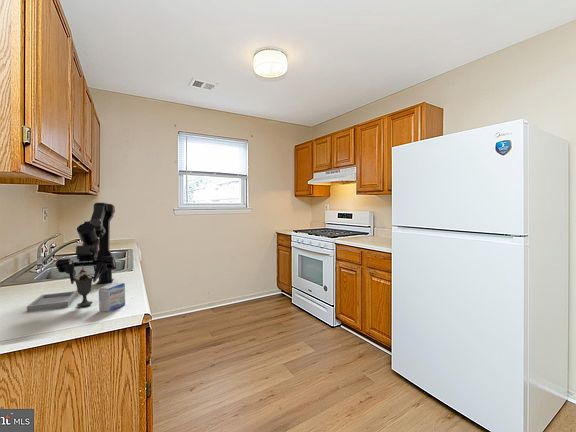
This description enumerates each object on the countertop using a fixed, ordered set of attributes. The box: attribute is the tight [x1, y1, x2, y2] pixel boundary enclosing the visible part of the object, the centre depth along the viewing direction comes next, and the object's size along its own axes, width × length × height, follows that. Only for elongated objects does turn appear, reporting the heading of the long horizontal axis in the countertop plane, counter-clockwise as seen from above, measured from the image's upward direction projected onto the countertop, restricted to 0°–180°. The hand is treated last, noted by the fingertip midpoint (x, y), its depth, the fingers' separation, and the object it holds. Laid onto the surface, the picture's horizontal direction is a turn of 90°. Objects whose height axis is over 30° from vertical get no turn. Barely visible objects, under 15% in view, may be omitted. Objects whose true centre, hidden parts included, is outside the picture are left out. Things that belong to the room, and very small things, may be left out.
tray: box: [26, 290, 79, 313], centre depth 112 cm, size 15×12×2 cm
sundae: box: [73, 265, 94, 307], centre depth 109 cm, size 7×7×15 cm
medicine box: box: [98, 282, 126, 313], centre depth 107 cm, size 8×4×9 cm, turn 168°
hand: (83, 282), depth 108 cm, fingers closed on sundae, 6 cm apart
